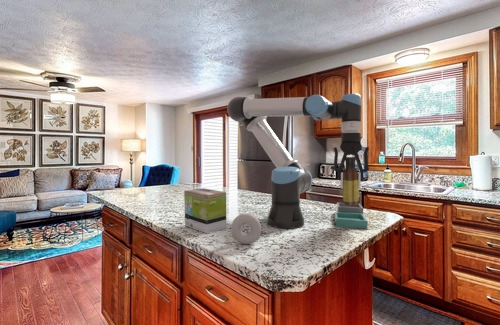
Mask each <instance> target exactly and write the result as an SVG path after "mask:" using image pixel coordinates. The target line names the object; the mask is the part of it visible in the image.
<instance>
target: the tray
mask: <svg viewBox="0 0 500 325" xmlns="http://www.w3.org/2000/svg"><path fill="white" fill-rule="evenodd" d="M334 222H335V227H338V228H353V229H367V230H368V225H369V224H368V220H367V218H366V217H365V215H364V213H363V214H358V213H340V212H337V211H335V212H334Z"/></svg>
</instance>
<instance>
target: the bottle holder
mask: <svg viewBox="0 0 500 325" xmlns="http://www.w3.org/2000/svg"><path fill="white" fill-rule="evenodd" d="M336 212H340V213H358V214H363V215H364V207H363V206H362V204H361V203H358V205H356V206H351V205H345V204H343V202H336Z"/></svg>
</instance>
